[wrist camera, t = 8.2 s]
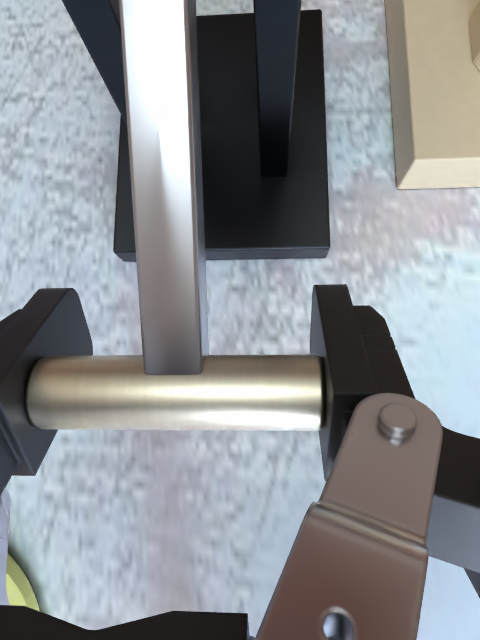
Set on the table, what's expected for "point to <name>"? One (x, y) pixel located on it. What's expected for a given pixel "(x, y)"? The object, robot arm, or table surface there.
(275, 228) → the bracket
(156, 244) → the lever
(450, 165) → the button box
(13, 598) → the key
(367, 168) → the table surface
